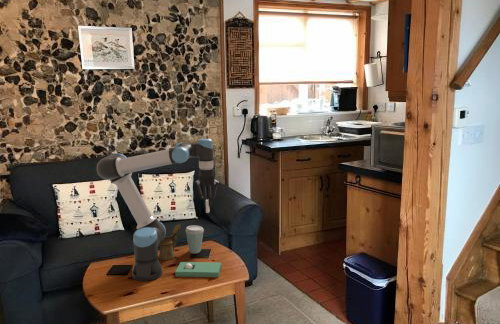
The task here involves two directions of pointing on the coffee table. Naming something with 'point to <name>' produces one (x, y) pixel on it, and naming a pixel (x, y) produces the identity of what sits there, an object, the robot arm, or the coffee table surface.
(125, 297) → the coffee table surface
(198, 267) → the putting mat
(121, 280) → the coffee table surface
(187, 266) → the ball
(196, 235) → the disposable coffee cup
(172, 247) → the wooden mug
